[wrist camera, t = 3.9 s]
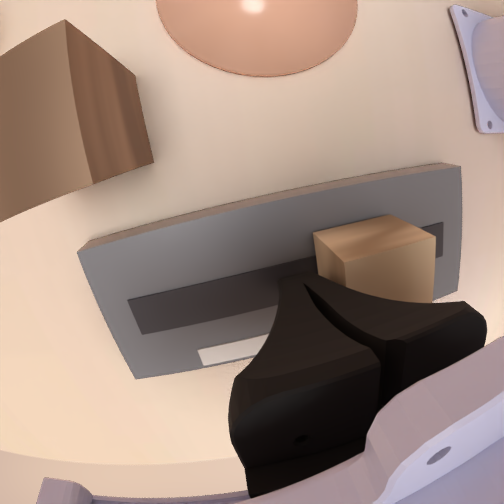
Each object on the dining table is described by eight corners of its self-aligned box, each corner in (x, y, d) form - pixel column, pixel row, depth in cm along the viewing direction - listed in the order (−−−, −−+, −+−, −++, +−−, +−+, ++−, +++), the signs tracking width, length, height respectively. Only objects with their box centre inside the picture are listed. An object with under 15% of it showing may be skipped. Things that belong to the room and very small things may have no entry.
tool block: (134, 75, 11) (64, 19, 4) (153, 162, 12) (93, 184, 6) (54, 107, 11) (-51, 96, 4) (73, 189, 12) (-26, 234, 5)
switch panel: (442, 162, 14) (462, 166, 12) (442, 280, 16) (458, 291, 15) (88, 241, 13) (75, 252, 11) (140, 361, 15) (135, 380, 14)
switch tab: (390, 214, 12) (435, 236, 9) (392, 295, 14) (429, 330, 11) (312, 232, 12) (344, 262, 9) (323, 316, 14) (349, 360, 11)
